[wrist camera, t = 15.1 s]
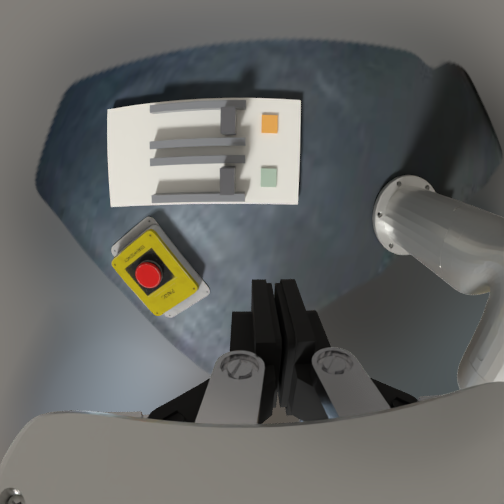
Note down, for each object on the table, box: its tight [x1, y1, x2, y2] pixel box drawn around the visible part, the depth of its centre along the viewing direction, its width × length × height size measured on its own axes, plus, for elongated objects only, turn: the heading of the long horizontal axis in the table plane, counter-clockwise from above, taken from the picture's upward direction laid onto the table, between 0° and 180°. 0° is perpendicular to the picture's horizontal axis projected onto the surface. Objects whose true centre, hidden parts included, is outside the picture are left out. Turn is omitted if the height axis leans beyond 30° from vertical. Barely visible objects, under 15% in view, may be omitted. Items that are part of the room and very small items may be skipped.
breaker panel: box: [107, 98, 301, 207], centre depth 35 cm, size 26×14×3 cm, turn 89°
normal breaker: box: [220, 166, 236, 195], centre depth 34 cm, size 2×3×5 cm, turn 179°
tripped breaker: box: [220, 107, 237, 135], centre depth 31 cm, size 2×3×5 cm, turn 179°
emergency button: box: [111, 217, 210, 318], centre depth 41 cm, size 9×4×15 cm
